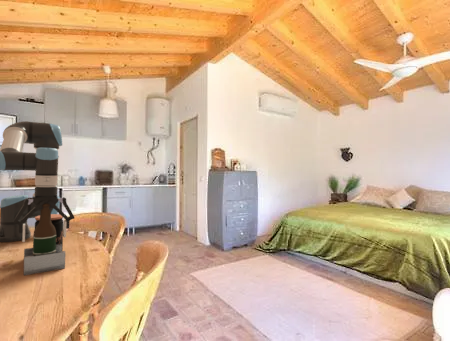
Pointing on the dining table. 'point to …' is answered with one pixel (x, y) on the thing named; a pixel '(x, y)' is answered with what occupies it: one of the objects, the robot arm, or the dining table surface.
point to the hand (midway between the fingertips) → (44, 238)
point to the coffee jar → (58, 225)
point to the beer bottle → (44, 233)
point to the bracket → (43, 261)
